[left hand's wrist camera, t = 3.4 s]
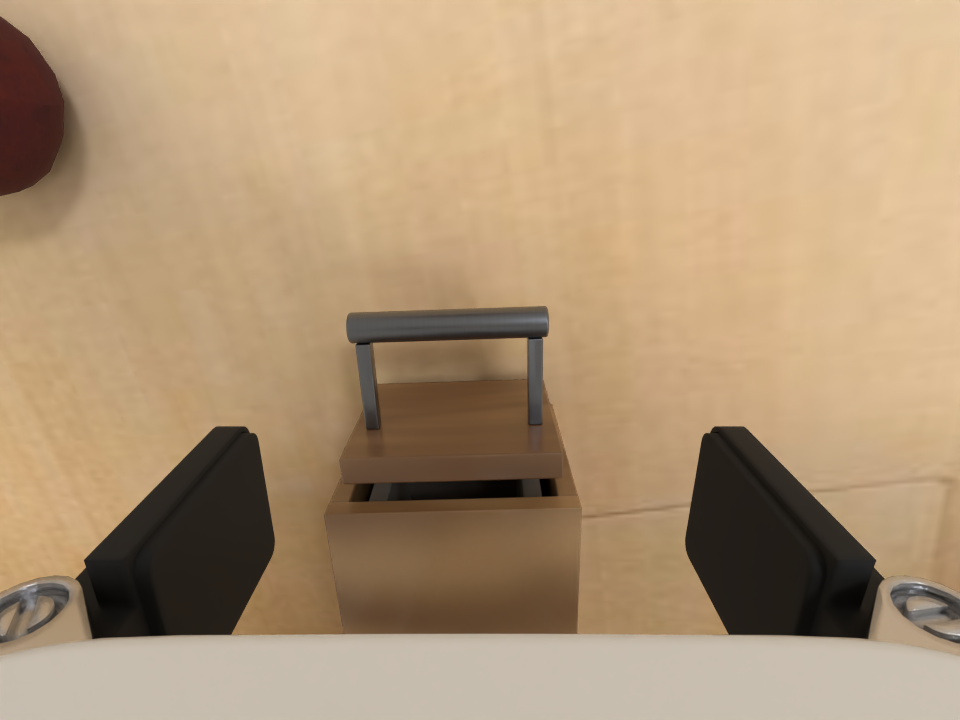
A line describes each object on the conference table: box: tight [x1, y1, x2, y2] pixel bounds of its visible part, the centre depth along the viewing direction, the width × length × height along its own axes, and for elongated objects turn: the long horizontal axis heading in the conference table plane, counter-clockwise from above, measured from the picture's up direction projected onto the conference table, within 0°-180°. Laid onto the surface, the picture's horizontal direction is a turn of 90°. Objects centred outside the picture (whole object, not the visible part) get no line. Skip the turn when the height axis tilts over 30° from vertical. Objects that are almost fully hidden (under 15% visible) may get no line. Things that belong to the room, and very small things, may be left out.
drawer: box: [340, 306, 563, 502], centre depth 27 cm, size 25×9×8 cm, turn 2°
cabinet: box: [324, 404, 582, 634], centre depth 29 cm, size 21×10×9 cm, turn 2°
